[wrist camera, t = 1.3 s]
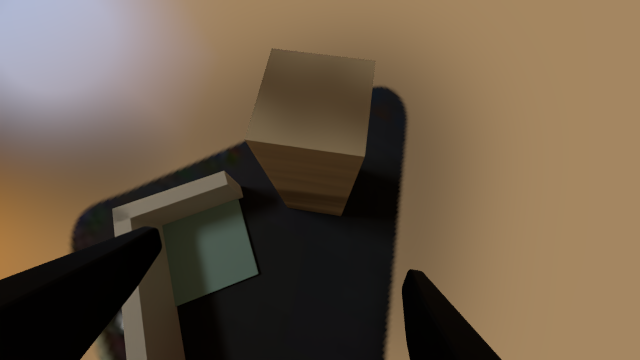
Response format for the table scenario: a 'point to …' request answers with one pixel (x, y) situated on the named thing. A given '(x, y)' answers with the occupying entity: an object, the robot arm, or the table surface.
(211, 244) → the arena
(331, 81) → the maple block
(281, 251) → the table surface
